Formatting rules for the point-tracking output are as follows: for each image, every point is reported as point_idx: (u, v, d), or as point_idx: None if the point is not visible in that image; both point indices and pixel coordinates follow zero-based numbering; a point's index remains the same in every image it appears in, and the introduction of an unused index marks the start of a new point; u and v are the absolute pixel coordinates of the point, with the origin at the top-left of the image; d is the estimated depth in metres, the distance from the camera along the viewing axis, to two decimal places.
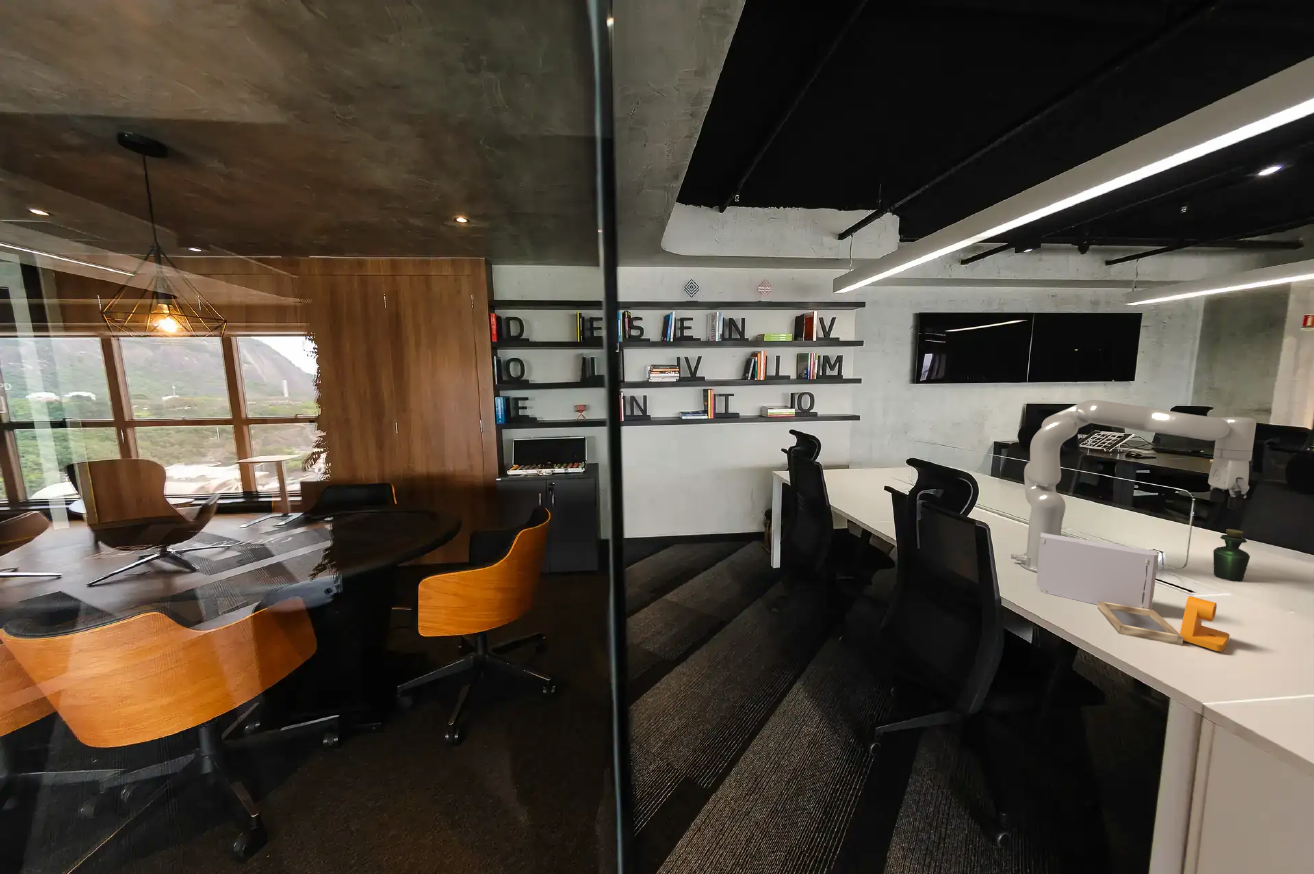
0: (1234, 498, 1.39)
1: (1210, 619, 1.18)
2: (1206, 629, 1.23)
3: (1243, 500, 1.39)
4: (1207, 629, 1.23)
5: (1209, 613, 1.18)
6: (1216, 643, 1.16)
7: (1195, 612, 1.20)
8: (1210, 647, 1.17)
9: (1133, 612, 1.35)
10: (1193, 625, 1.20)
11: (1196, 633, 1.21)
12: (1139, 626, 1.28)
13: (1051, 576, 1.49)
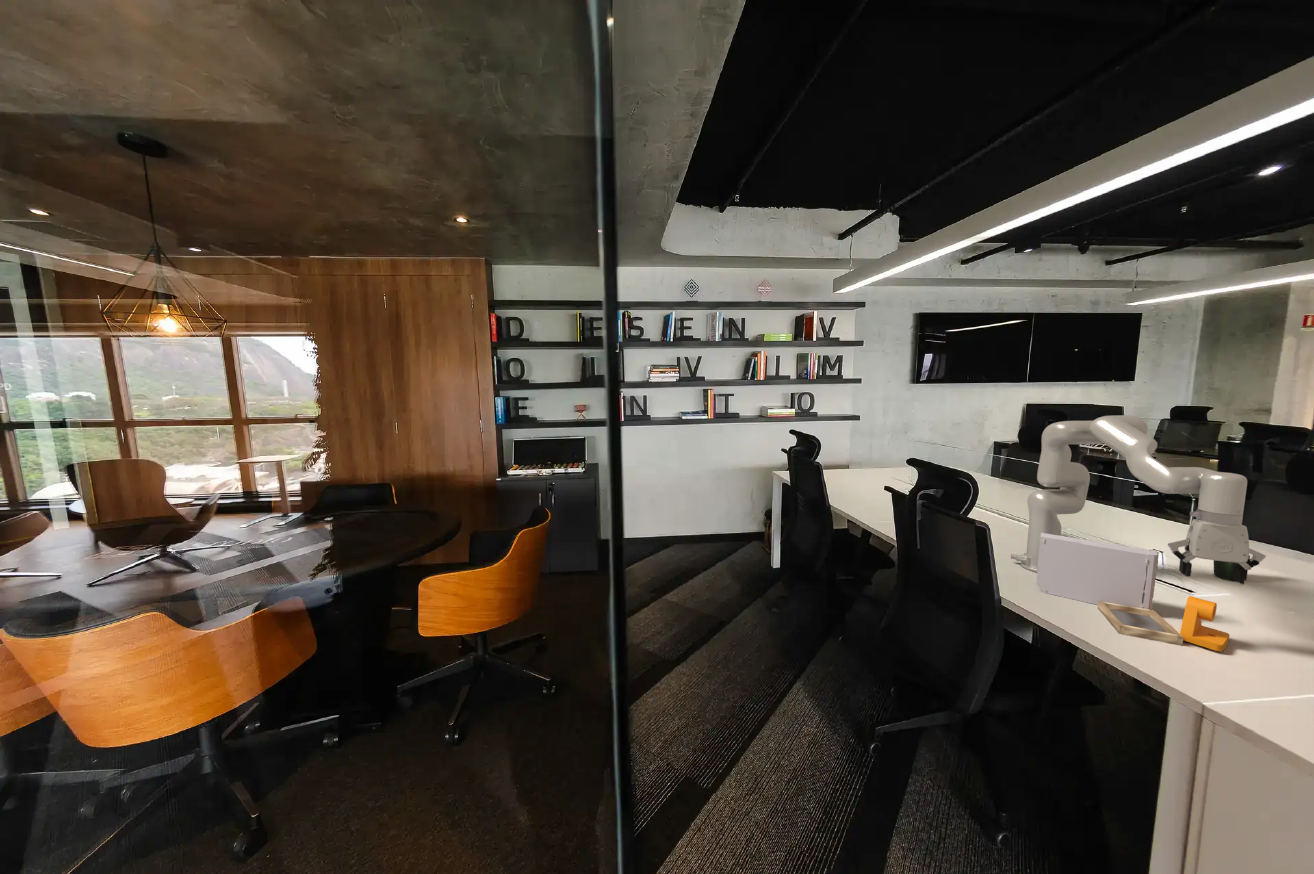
0: (1245, 570, 1.15)
1: (1210, 619, 1.18)
2: (1206, 629, 1.23)
3: None
4: (1207, 629, 1.23)
5: (1209, 613, 1.18)
6: (1216, 643, 1.16)
7: (1195, 612, 1.20)
8: (1210, 647, 1.17)
9: (1133, 612, 1.35)
10: (1193, 625, 1.20)
11: (1196, 633, 1.21)
12: (1139, 626, 1.28)
13: (1051, 576, 1.49)
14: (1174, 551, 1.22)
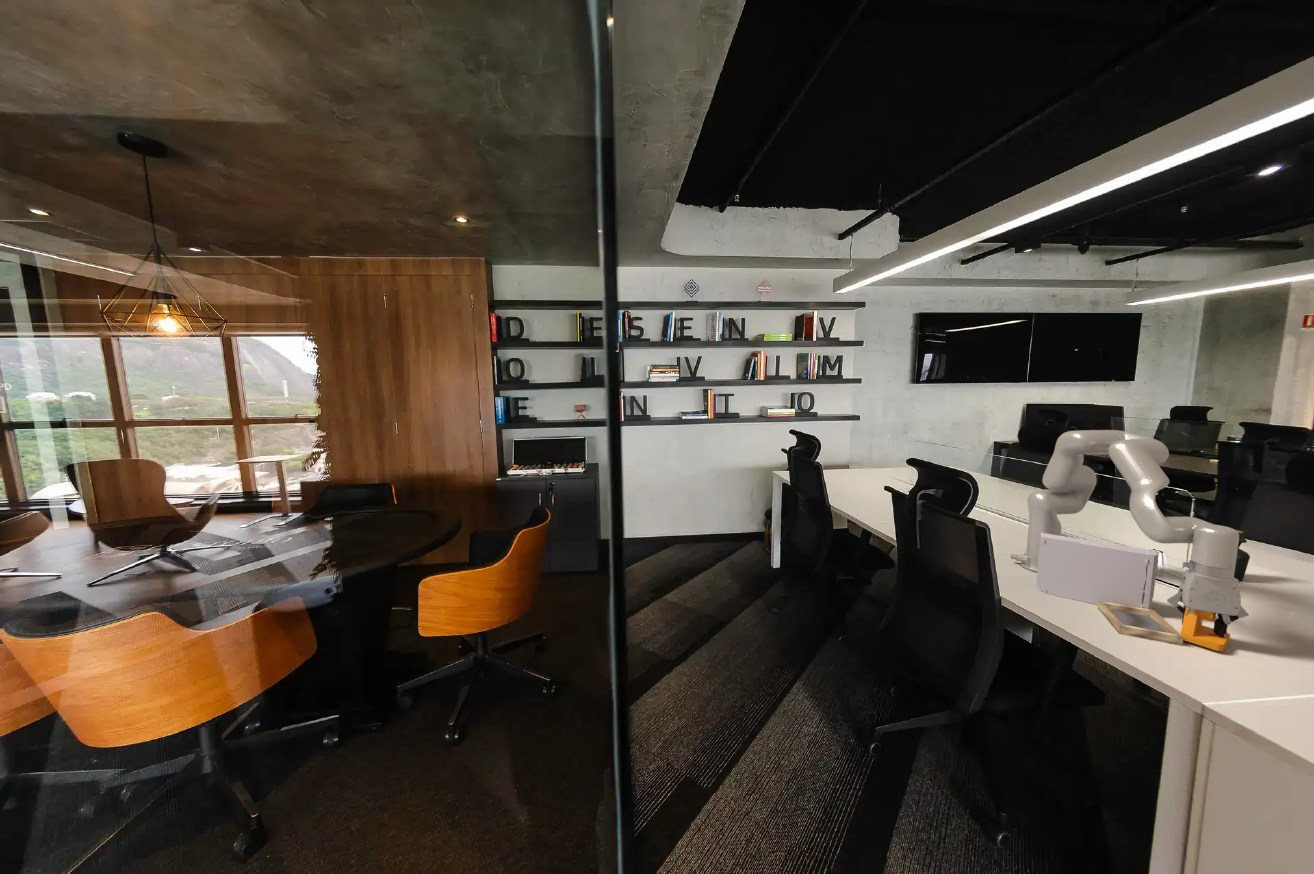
0: (1225, 624, 1.18)
1: (1211, 619, 1.18)
2: (1207, 629, 1.23)
3: None
4: (1208, 629, 1.23)
5: (1209, 613, 1.18)
6: (1217, 643, 1.16)
7: (1196, 612, 1.20)
8: (1211, 647, 1.17)
9: (1133, 612, 1.35)
10: (1194, 625, 1.20)
11: (1197, 633, 1.21)
12: (1139, 626, 1.28)
13: (1051, 576, 1.49)
14: (1176, 607, 1.22)
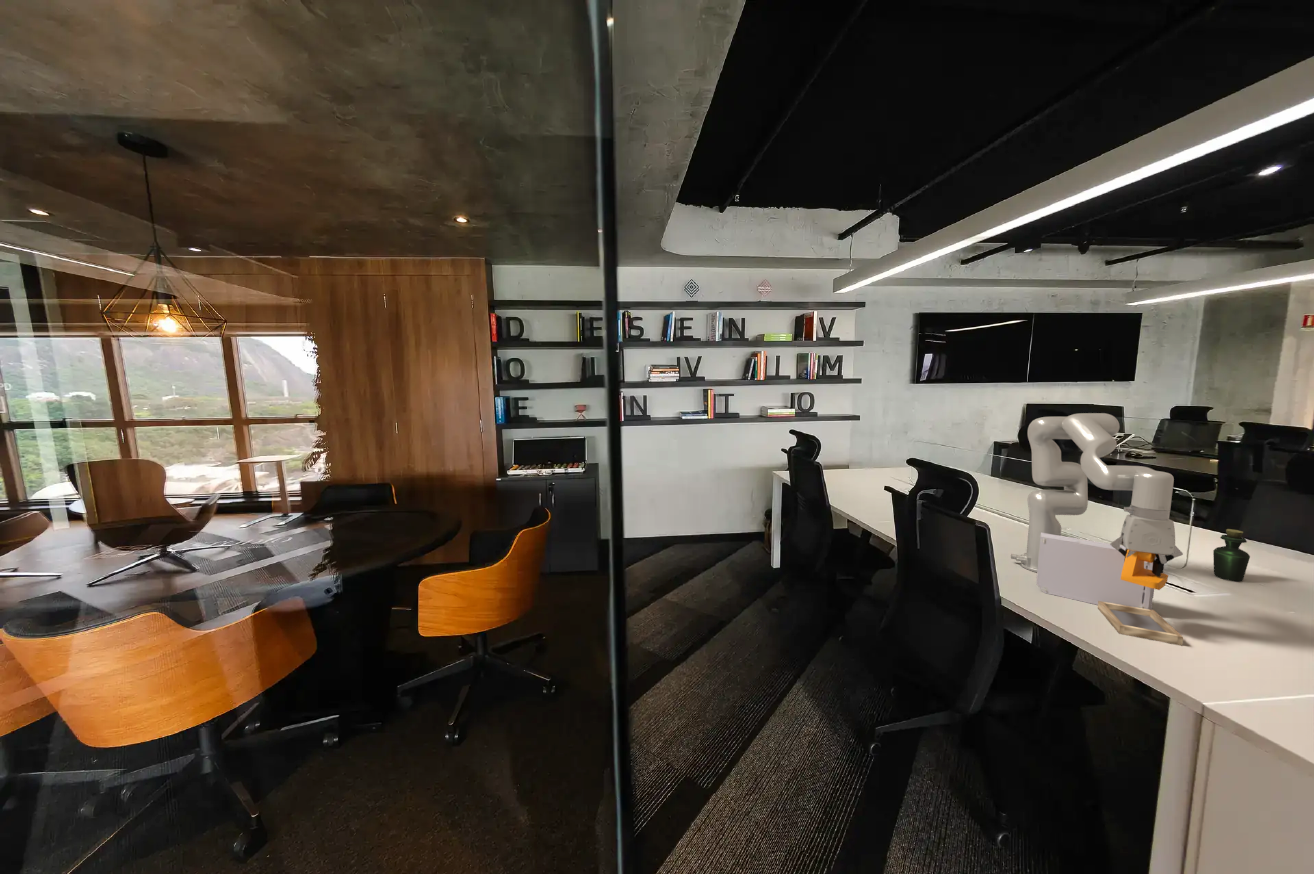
0: (1162, 564, 1.25)
1: (1149, 560, 1.25)
2: (1147, 571, 1.30)
3: None
4: (1148, 571, 1.30)
5: (1148, 554, 1.25)
6: (1153, 581, 1.23)
7: (1136, 554, 1.27)
8: (1147, 585, 1.24)
9: (1133, 612, 1.35)
10: (1133, 566, 1.27)
11: (1136, 574, 1.28)
12: (1139, 626, 1.28)
13: (1051, 576, 1.49)
14: (1118, 550, 1.30)
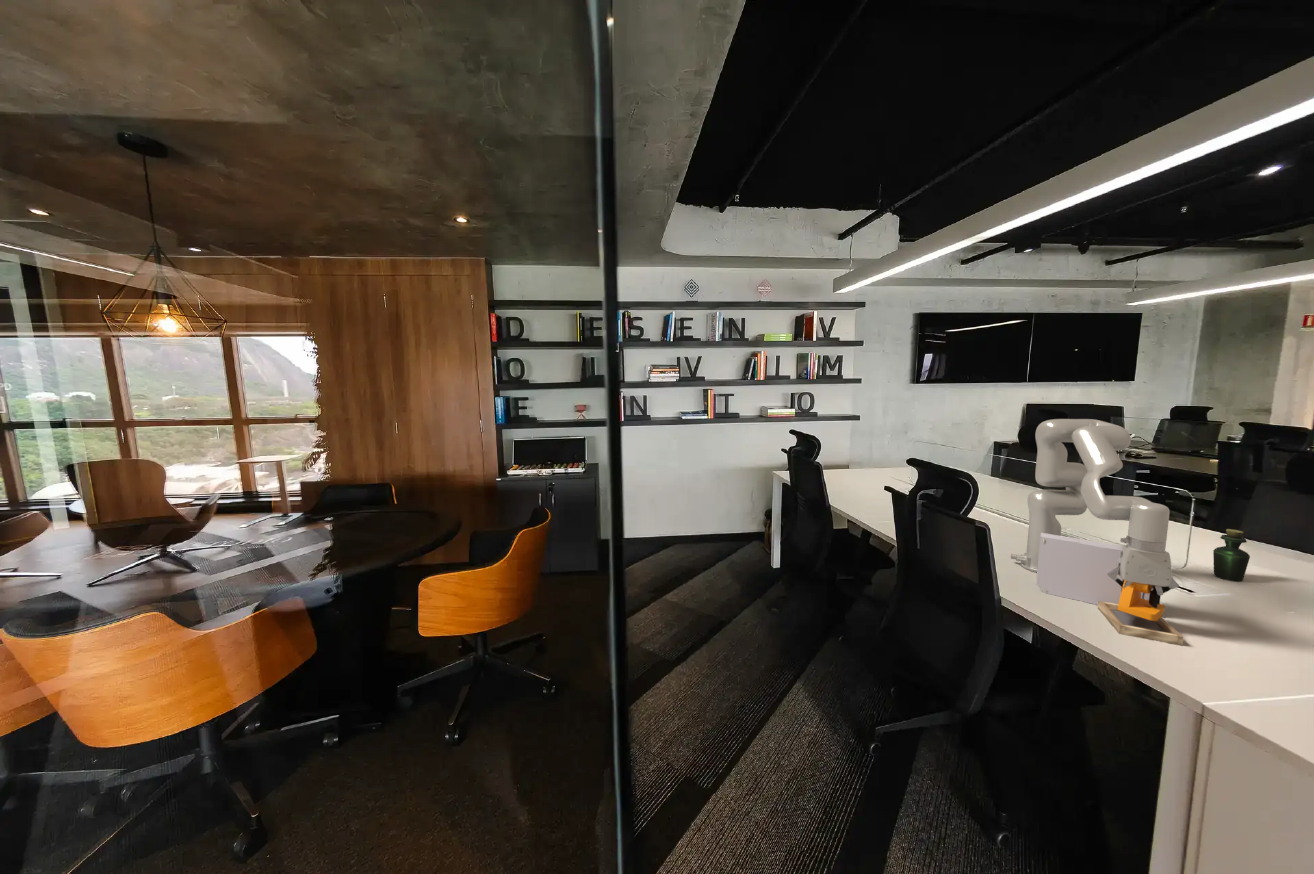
0: (1159, 595, 1.26)
1: (1146, 591, 1.26)
2: (1144, 601, 1.30)
3: None
4: (1145, 601, 1.31)
5: (1144, 585, 1.26)
6: (1149, 613, 1.24)
7: (1132, 585, 1.28)
8: (1144, 617, 1.25)
9: None
10: (1130, 597, 1.28)
11: (1133, 604, 1.29)
12: (1139, 626, 1.28)
13: (1051, 576, 1.49)
14: (1115, 580, 1.31)
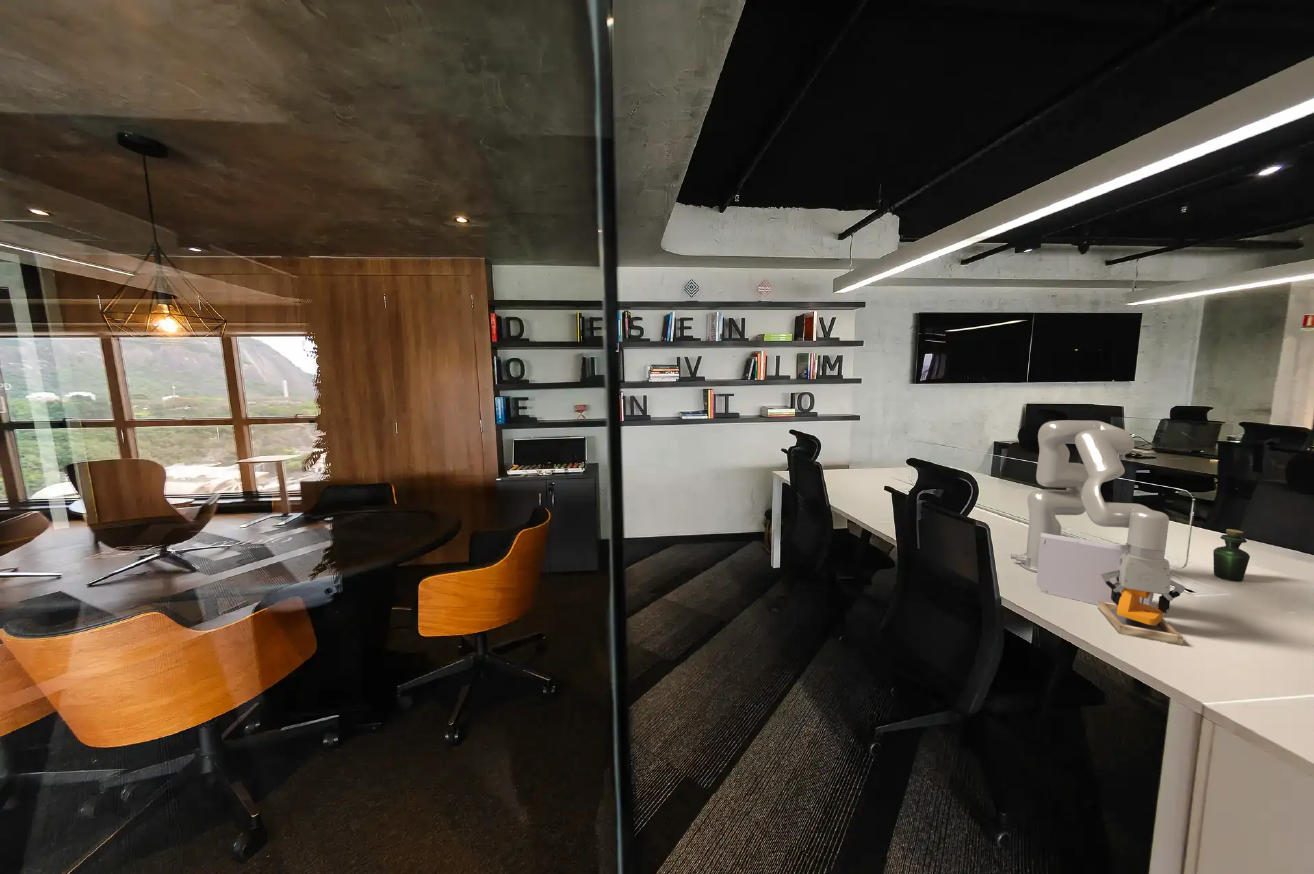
0: (1168, 601, 1.25)
1: (1144, 595, 1.27)
2: (1143, 606, 1.31)
3: None
4: (1144, 605, 1.31)
5: None
6: (1148, 617, 1.24)
7: None
8: (1143, 621, 1.25)
9: None
10: (1129, 601, 1.28)
11: (1132, 609, 1.29)
12: (1139, 626, 1.28)
13: (1051, 576, 1.49)
14: (1106, 581, 1.32)
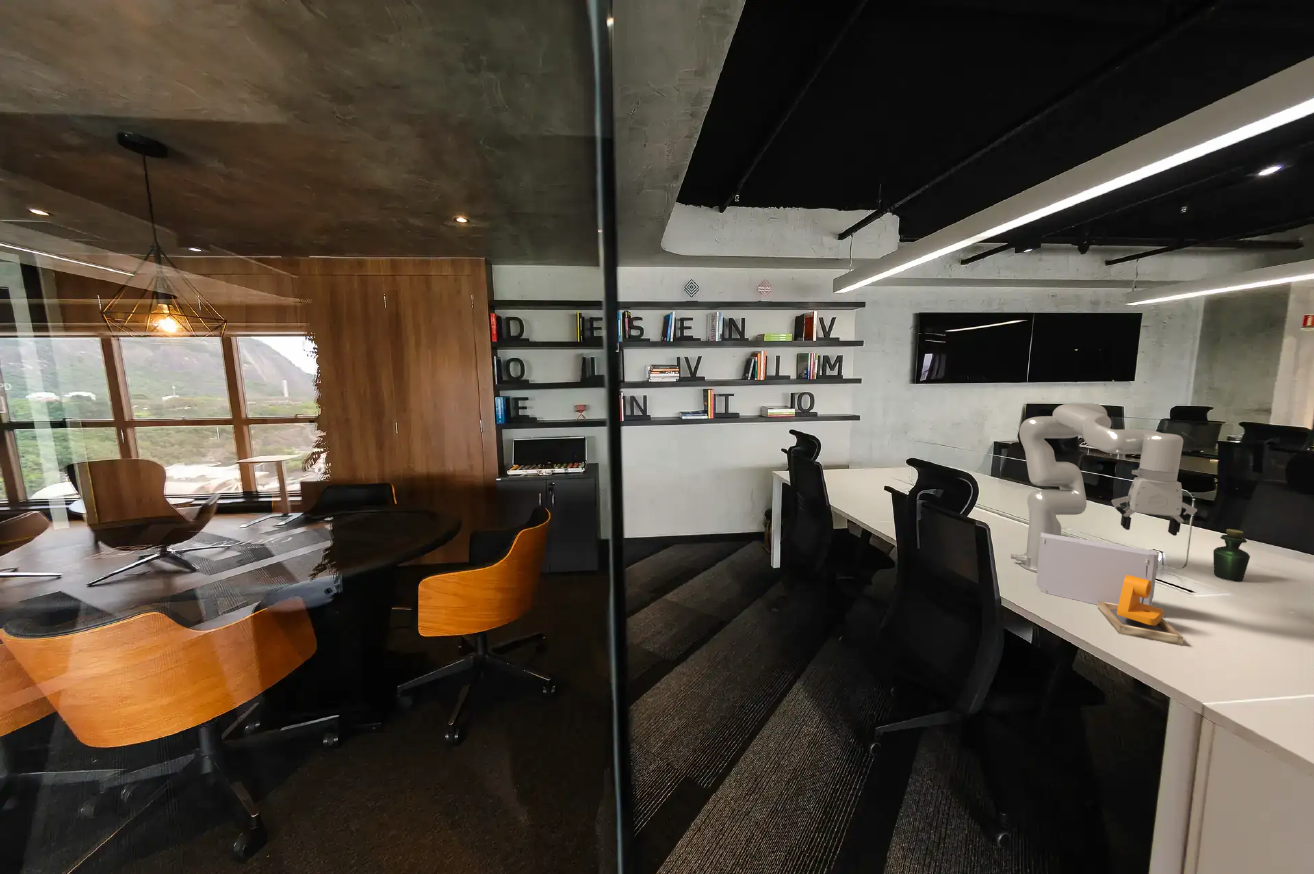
0: (1179, 523, 1.25)
1: (1144, 595, 1.27)
2: (1143, 606, 1.31)
3: None
4: (1144, 605, 1.31)
5: (1143, 590, 1.26)
6: (1148, 617, 1.24)
7: (1131, 589, 1.28)
8: (1143, 621, 1.25)
9: None
10: (1129, 601, 1.28)
11: (1132, 609, 1.29)
12: (1139, 626, 1.28)
13: (1051, 576, 1.49)
14: (1116, 507, 1.32)
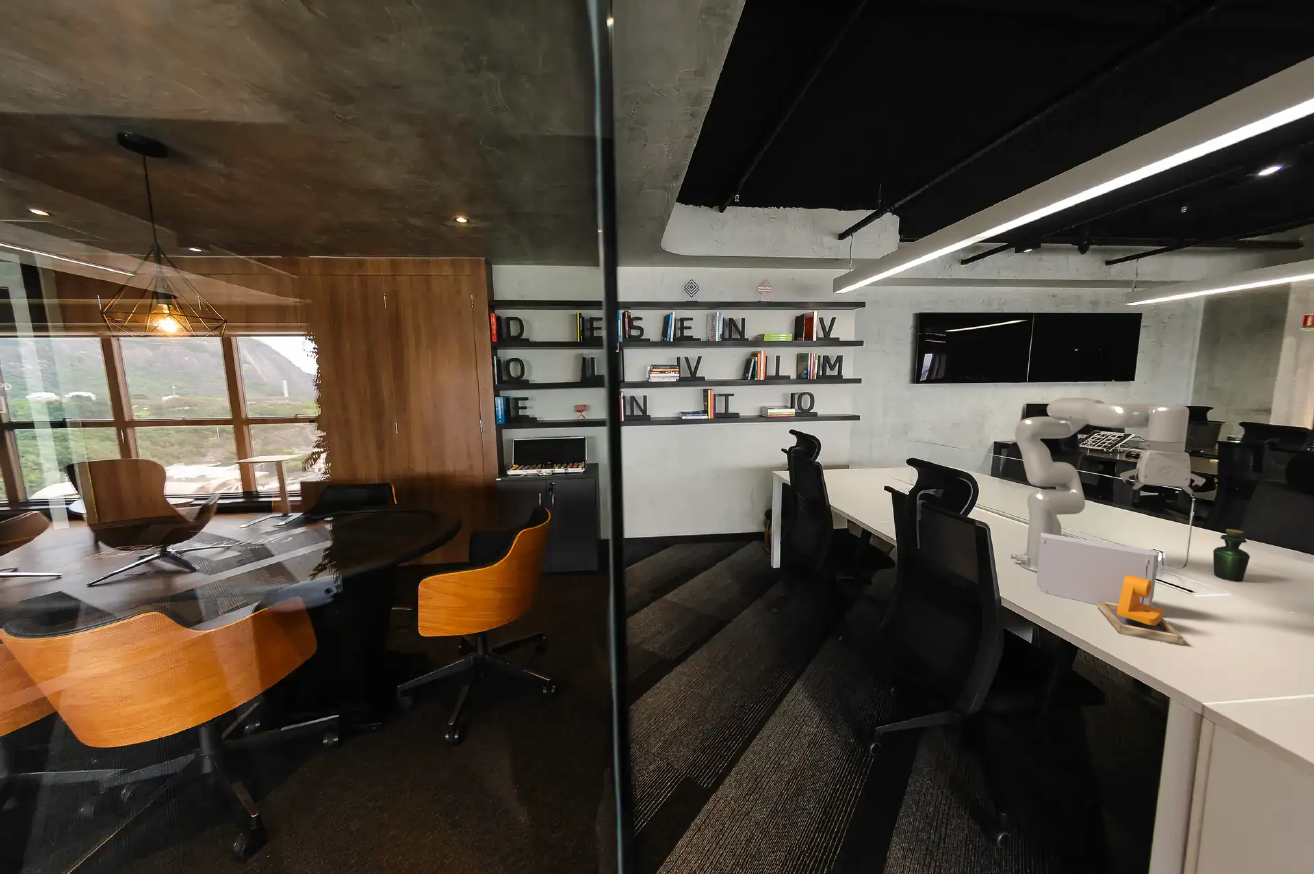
0: (1188, 494, 1.26)
1: (1144, 595, 1.27)
2: (1143, 606, 1.31)
3: None
4: (1144, 605, 1.31)
5: (1143, 590, 1.26)
6: (1148, 617, 1.24)
7: (1131, 589, 1.28)
8: (1143, 621, 1.25)
9: None
10: (1129, 601, 1.28)
11: (1132, 609, 1.29)
12: (1139, 626, 1.28)
13: (1051, 576, 1.49)
14: (1125, 480, 1.32)
